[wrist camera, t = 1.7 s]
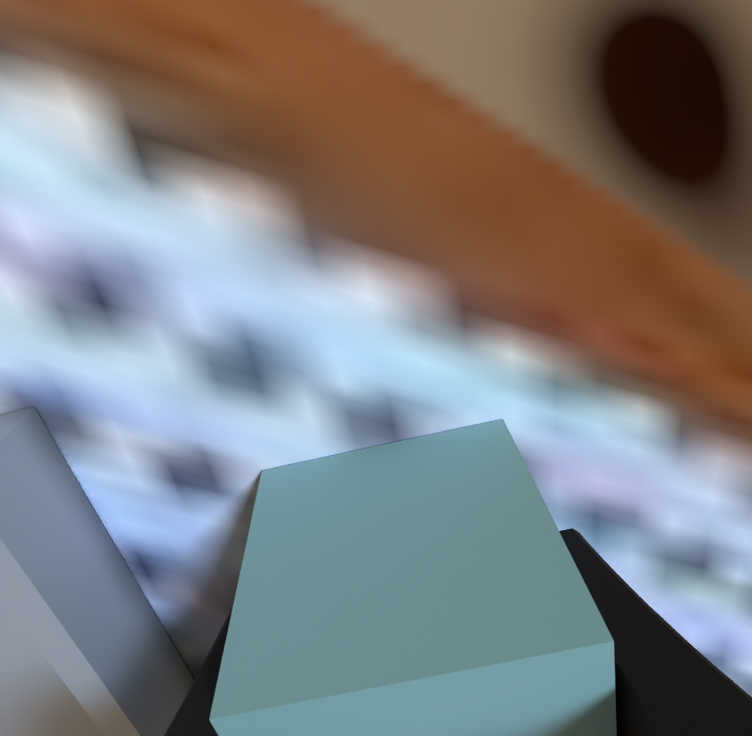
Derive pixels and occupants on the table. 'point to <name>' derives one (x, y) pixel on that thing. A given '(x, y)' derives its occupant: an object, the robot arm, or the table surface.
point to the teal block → (412, 601)
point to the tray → (72, 608)
